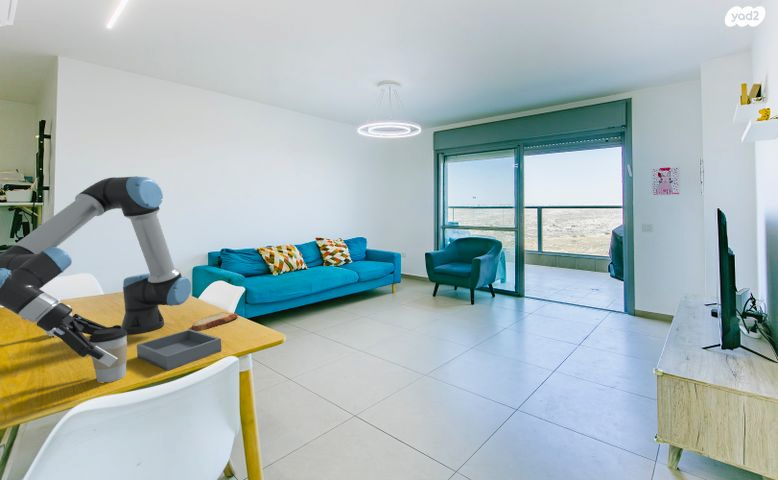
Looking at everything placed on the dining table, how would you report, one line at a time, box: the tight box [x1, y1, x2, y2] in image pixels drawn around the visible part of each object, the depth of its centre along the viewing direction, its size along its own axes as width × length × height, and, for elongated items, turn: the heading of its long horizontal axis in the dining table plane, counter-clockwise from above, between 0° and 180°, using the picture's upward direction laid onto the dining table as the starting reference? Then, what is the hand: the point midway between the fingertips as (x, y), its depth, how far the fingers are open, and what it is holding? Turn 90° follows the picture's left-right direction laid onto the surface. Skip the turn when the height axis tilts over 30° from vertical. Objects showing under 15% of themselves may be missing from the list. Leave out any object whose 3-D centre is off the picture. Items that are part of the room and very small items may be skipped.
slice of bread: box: [191, 311, 239, 332], centre depth 157 cm, size 18×18×4 cm
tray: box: [136, 328, 223, 372], centre depth 122 cm, size 20×18×4 cm
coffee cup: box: [88, 324, 128, 383], centre depth 105 cm, size 9×9×15 cm
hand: (118, 354), depth 106 cm, fingers open, 13 cm apart
